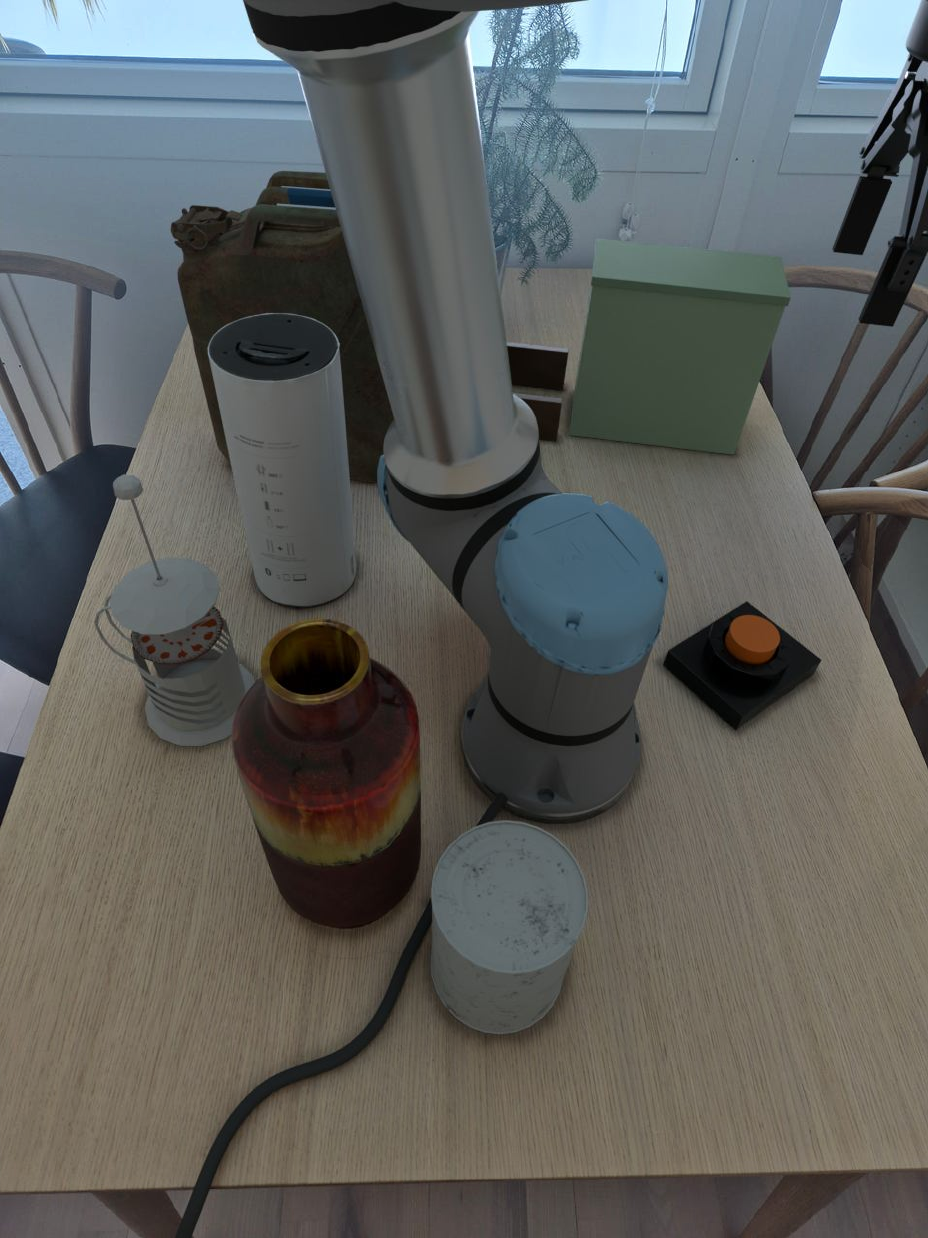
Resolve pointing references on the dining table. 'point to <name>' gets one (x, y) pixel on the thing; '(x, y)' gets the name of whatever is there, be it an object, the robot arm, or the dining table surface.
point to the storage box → (675, 343)
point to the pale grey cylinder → (504, 924)
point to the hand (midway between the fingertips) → (860, 285)
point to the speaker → (288, 453)
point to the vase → (332, 774)
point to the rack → (540, 381)
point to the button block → (738, 670)
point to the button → (752, 639)
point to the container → (284, 294)
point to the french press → (178, 642)
